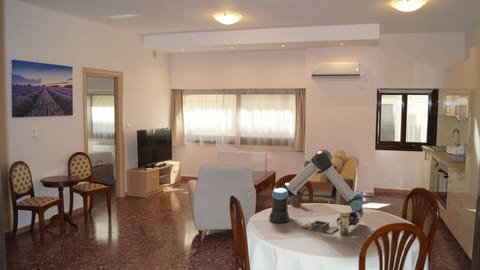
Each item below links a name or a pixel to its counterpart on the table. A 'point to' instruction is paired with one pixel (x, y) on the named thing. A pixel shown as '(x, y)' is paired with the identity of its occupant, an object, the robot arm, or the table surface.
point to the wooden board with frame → (320, 227)
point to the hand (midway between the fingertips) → (342, 224)
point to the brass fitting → (344, 223)
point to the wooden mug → (297, 198)
